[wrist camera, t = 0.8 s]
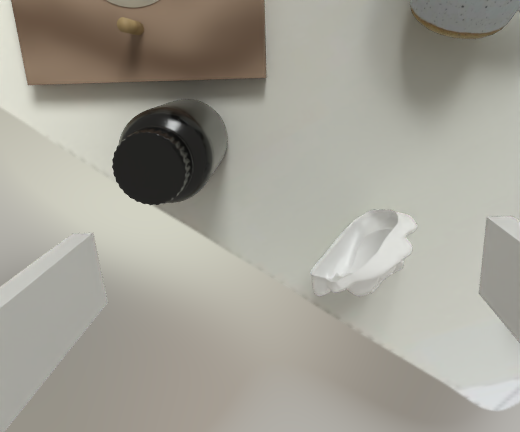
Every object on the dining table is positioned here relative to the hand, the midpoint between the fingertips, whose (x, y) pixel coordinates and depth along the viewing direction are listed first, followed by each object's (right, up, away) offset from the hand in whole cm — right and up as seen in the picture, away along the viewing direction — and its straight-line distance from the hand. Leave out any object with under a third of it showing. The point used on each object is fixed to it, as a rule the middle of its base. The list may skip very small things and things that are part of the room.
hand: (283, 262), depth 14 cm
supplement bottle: (-7, +9, +24) cm, 26 cm away
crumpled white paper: (+9, -1, +25) cm, 27 cm away
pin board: (-11, +23, +19) cm, 31 cm away
